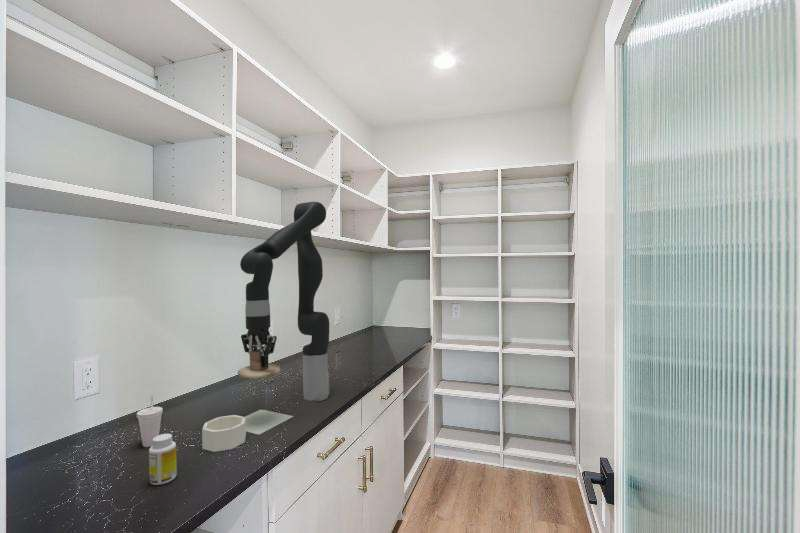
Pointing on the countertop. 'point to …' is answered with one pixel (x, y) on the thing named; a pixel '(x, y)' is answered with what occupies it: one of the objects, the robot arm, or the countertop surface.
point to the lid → (257, 367)
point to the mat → (264, 421)
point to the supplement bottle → (162, 460)
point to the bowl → (224, 433)
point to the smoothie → (149, 423)
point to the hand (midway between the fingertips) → (259, 366)
